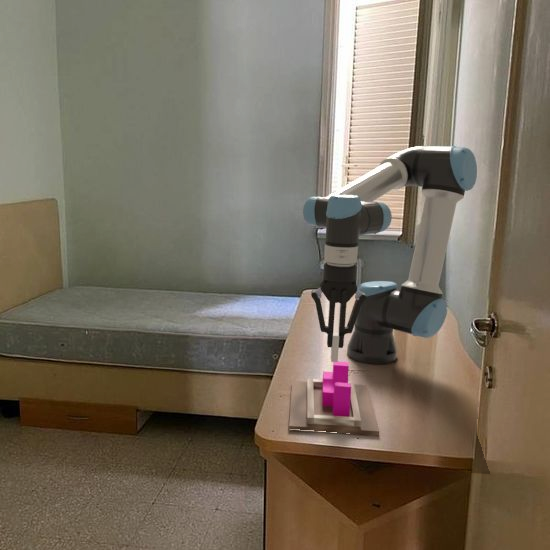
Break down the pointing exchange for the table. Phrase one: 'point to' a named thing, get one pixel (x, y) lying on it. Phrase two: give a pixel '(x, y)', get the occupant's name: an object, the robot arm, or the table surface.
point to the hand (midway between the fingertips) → (334, 359)
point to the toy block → (337, 389)
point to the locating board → (331, 410)
